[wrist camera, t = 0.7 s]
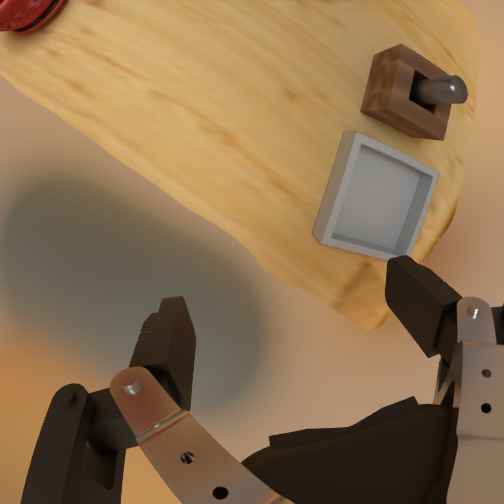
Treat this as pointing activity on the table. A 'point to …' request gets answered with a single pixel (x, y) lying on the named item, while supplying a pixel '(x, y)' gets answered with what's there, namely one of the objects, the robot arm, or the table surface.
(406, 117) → the pin block
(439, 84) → the pin
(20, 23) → the plant pot
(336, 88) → the table surface
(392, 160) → the tray
